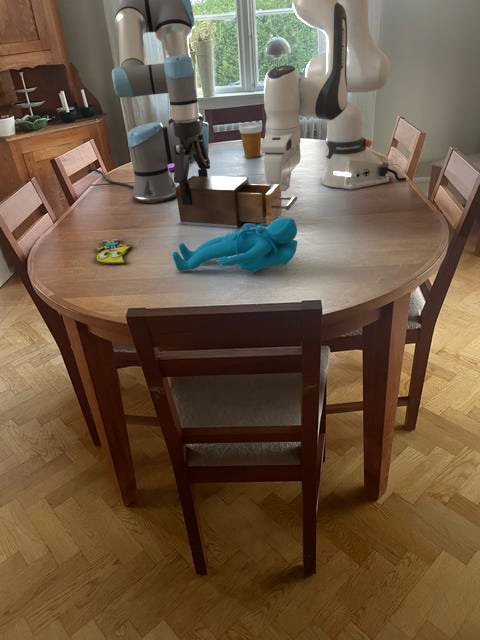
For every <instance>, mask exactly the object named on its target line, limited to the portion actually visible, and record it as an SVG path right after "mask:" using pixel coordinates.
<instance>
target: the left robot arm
mask: <svg viewBox="0 0 480 640" xmlns="http://www.w3.org/2000/svg"><path fill="white" fill-rule="evenodd" d="M193 10H194V9H193V5H192V2H191V0H122V1H121V2H120V3H119V5H118V7H117V8H116V11H115V14H114V27H115V28H114V29H115V31H116V33H117V34H118V53H119V55H118V56H119V67H114V68H113V69H112V70H111V79H112V80H111V81H112V85H113V89H114V92H115V95H116V97H118V98H130V99H132V98H135V97H145V96H151V95H152V96H153V95H163V94H164V95H165V94H168V99H169V106H170V107H169V111H170V114H171V116H170V117H169V118H168V120H167V124H168V126H163V124H162V123H161V122H160V121H159V122H158V121H155V122H149V123H144V124H141V125H138V126H135V127H134V128H132V129H130V130H129V131H128V133H127V141H128V144H127V145H128V149H129V153H130V158H131V163H132V164H131V165H132V168H133V173H134V181H133V185H132V184H129V183H126V182H120V181H114V180H111V179H109V178H108V177H107V176H106V175H105V172H104V171H102V170H99V169H96V168H89V169H88V170H87V174H90V173H91V172H95V173H98V174H101V176H102V178H103V179H104V180H105V181H106V182H107V183H109V184H111V185H112V184H113V185H117V186H122V187H127V188H130V189H133V191H132V197H133V200H134V201H135V202H137V203H139V204H157V203H163V202H166V201H170V200H172V199H175V198H176V197H177V196H176V190H175V188H176V187H177V185H176V184H178V186H179V185H180V191H181V198H182V204H183V205H192V200H191V193H190V186H189V182H187V179H189V170H190V164H191V162H194V163H196V165H197V167H198V170H197V174H198V175H197V176H208V175H209V174H208V170H210V169H211V165H210V164H211V161H210V158H209V151H210V150H209V149H210V145H209V144H210V143H209V141H210V140H209V139H210V137H209V135H210V133H209V123H208V122H206V121H204V117H203V115H202V114H201V113H200V110H199V102H198V95H197V85H196V84H197V83H196V76H195V75H196V74H195V66H194V62H193V57H192V56H191V54H190V46H189V39H190V37H191V36H192V30H193V29H194V28H195V27H196V23H195V15H194V11H193ZM148 33H155V38H156V39H157V40H158V41H159V42H161V48H162V54H163V55H162V56H163V62H161V63H152V64H147V56H146V55H147V54H146V46H145V45H146V44H145V34H148ZM172 164H174V170H173V177H172V175H171V173H170V171H169V169H168V166H169V165H172Z"/></svg>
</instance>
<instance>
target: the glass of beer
mask: <svg viewBox="0 0 480 640" xmlns="http://www.w3.org/2000/svg"><path fill="white" fill-rule="evenodd" d="M262 131H263V126H262V124H261V123H245V124H241V125H240V126H239V133H240V137H241V142H242V147H243V152H244V157H245V158H248V159H249V158H251V159H252V158H253V159H254V158H258V157H260V156H261V146H262Z"/></svg>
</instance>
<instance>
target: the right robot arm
mask: <svg viewBox="0 0 480 640" xmlns="http://www.w3.org/2000/svg"><path fill="white" fill-rule="evenodd" d="M291 4H292V8H293V11H294V13H295V15H296V16H297V18H298V19H299V20H300V21H302V22H303V23H304V24H306V25H307V26H309V27H310V28H313V29H316V30H318V31H319V32H322V33H324V34H325V36H326V53H323V54H320V55H319V54H318V55H316V56H313V57H312V58H311V59H310V60H309V61H308V63H307V65H306V68H305V75H300V74H298V71H297V67H295V66H293V65H288V64H284V65H280V66H279V65H278V66H274V67H272V68H271V69H270V70H268V71H267V72H266V74H265V78H264V85H263V86H264V88H263V93H264V94H263V99H264V100H263V102H264V103H263V104H264V111H265V115H266V121H265V134H264V139H263V141H262V142H261V146H260V150H261V153H263V154H264V155H263V167H264V168H263V169H264V175H265V181H266V183H267V185H275V184H280V190H281V192H287V191H288V190H289V188H290V187H291V186H290V185H291V183H290V182H291V178H292V177H291V176H292V171H293V170H294V169H295V168H296V167H297V166H298V165H299V164H300V162H301V121H300V117H301V118H312V119H320V120H326V131H327V132H326V139H325V145H324V154H325V155H324V156H325V164H324V170H323V175H322V178H321V183H322V185H324V186H327V187H330V188H338V189H339V188H341V189H346V190H356V189H361V188H366V187H371V186H376V185H380V184H385V183H389V182H390V176H389V175H388V172H389V173H391V174H393V175H394V178H395V180H396V181H398V182H403V181H404V182H405V181H407V177H399V175H398V173H397V172H396V171H395V170H394V169H391V168H389V162H382V161H381V159H380V158H379V157H377V156H376V155H375V154H373V152H371V151H370V150H368V148H370V147H371V146H373V141H372V140H371V139H368V138H367V139H366V138H364V137H362V134H363V118H364V116H363V113H362V110H361V109H360V108H359V107H358V106H357V105H355V104H353V103H351V102H350V101H349V100H348V93H369V92H375V91H378V90H381V89H382V88H384V86H385V85H386V84H387V83H388V81H389V78H390V75H391V62H390V60H389V57H388V56H387V55H386V54H385V53H384V52H383V51H382V50H380V48H379V47H378V46H377V44H376V43H375V41H374V39H373V37H372V35H371V31H370V26H369V0H291Z"/></svg>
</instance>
